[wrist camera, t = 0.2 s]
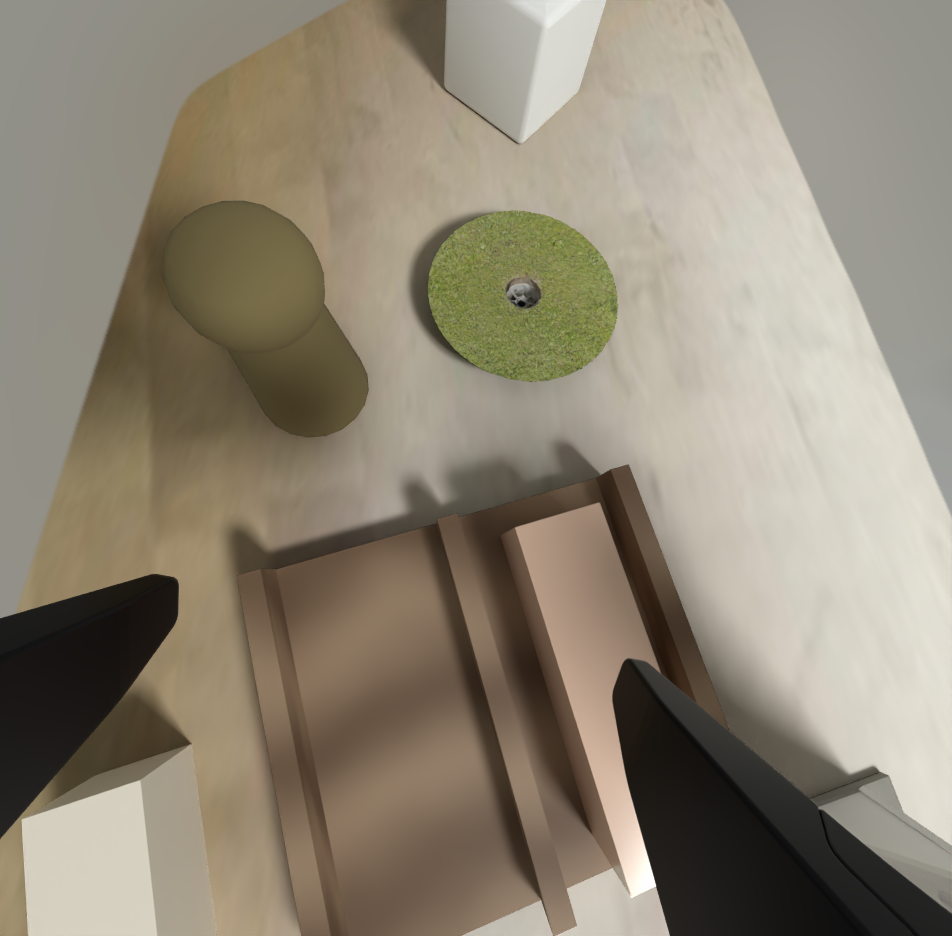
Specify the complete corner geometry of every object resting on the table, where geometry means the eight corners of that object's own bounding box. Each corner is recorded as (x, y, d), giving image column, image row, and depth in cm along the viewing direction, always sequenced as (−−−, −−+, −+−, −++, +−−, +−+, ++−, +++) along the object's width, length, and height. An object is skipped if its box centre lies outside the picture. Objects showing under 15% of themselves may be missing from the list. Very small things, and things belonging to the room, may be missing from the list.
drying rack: (721, 799, 22) (769, 836, 19) (338, 967, 19) (320, 1044, 16) (604, 477, 25) (628, 464, 22) (263, 575, 22) (236, 575, 19)
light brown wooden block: (669, 801, 20) (725, 853, 17) (592, 834, 20) (631, 897, 16) (571, 514, 23) (599, 502, 19) (500, 535, 23) (515, 527, 19)
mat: (626, 272, 29) (639, 251, 27) (576, 422, 26) (588, 410, 24) (466, 209, 29) (469, 183, 27) (398, 352, 26) (396, 334, 24)
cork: (238, 370, 25) (91, 213, 14) (333, 320, 26) (267, 143, 15) (292, 457, 24) (180, 362, 13) (388, 402, 25) (358, 274, 14)
